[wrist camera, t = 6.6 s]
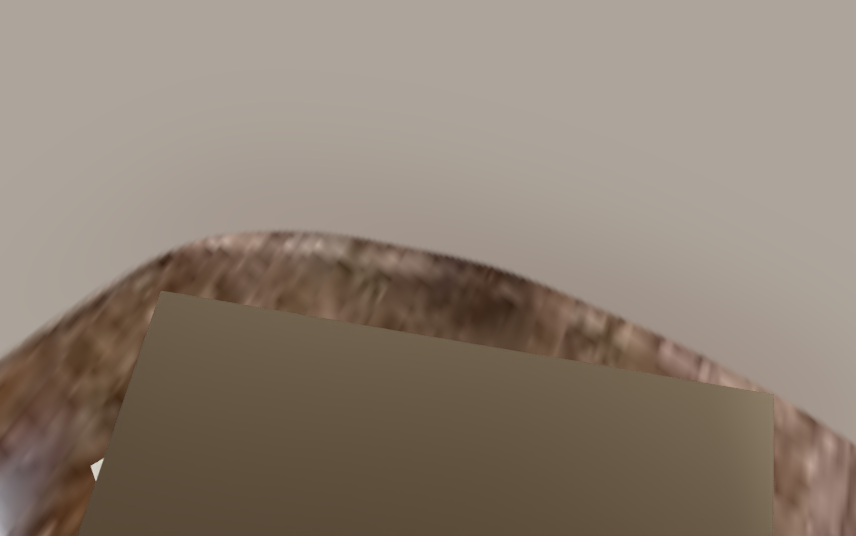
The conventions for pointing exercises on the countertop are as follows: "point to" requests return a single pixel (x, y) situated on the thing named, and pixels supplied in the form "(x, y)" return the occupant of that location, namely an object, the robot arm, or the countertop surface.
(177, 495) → the brass post
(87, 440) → the countertop surface
